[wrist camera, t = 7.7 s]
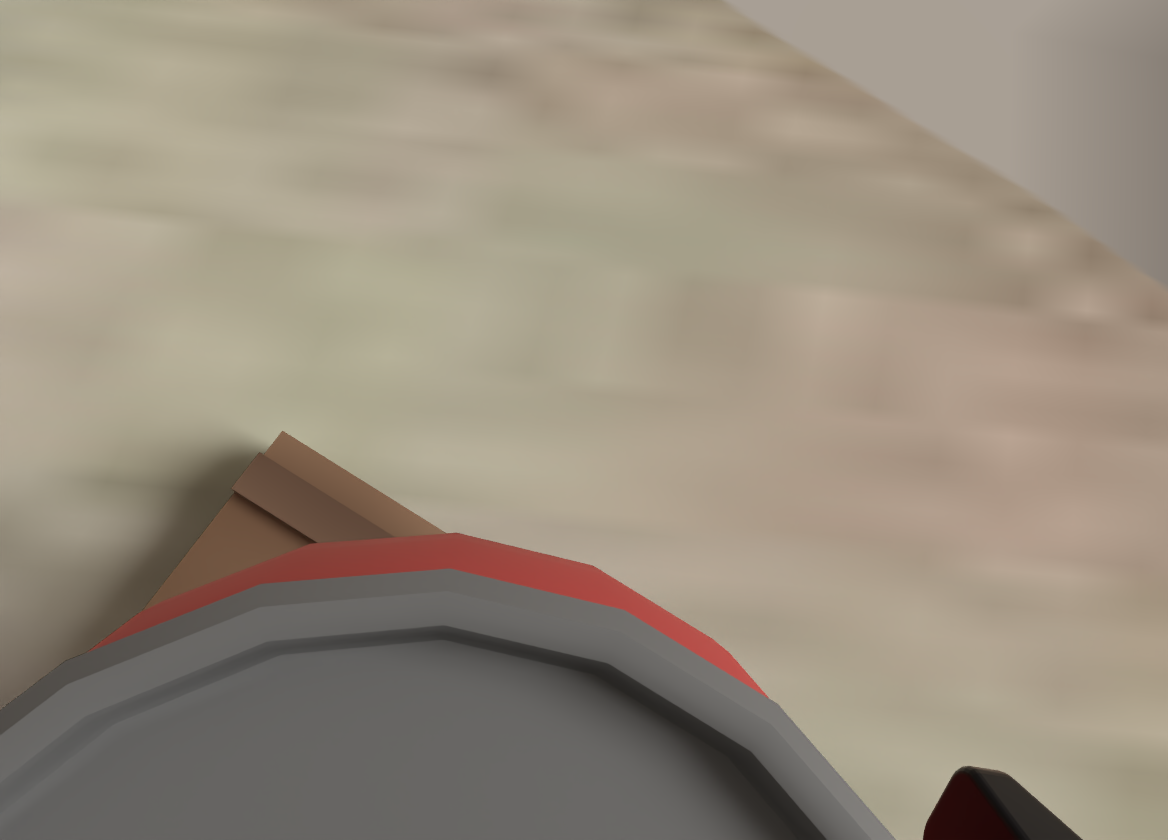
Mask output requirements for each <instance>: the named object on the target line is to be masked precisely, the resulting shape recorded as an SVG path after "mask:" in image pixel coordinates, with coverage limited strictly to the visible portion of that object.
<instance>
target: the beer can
mask: <svg viewBox="0 0 1168 840" xmlns="http://www.w3.org/2000/svg"><path fill="white" fill-rule="evenodd" d="M0 840H896V839H895V838H894V837H893V836H892V835H891V833H890V832H889V831H888V830H887V829H886V828H885V827H884V825H883V824H882V823H881V822H880V821H879V820H878V819H877V817H876V816H875V815H874V814H873V813H872V812H871V811H870V809H869V808H868V807H867V806H866V805H865V804H864V803H863V801H862V800H861V799H860V798H859V797H858V796H857V794H856V793H855V792H854V791H853V790H852V789H851V788H850V786H849V785H848V784H847V783H846V782H845V781H844V780H843V778H842V777H841V776H840V775H839V774H838V773H837V772H836V770H835V769H834V768H833V767H832V766H831V765H830V764H829V762H828V761H827V760H826V759H825V758H824V757H823V756H822V754H821V753H820V752H819V751H818V750H817V749H816V747H815V746H814V745H813V744H812V743H811V742H810V741H809V739H808V738H807V737H806V736H805V735H804V734H803V733H802V731H801V730H800V729H799V728H798V727H797V726H796V725H795V723H794V722H793V721H792V720H791V719H790V718H789V717H788V715H787V714H786V713H785V712H784V711H783V710H782V708H781V707H780V706H779V705H778V704H777V703H775V702H774V701H772V700H770V699H769V698H768V697H767V695H766V694H765V693H764V692H763V691H762V690H761V689H760V687H759V686H758V685H757V684H756V683H755V682H754V680H753V679H752V678H751V677H750V676H749V675H748V674H747V672H746V671H745V670H744V669H743V668H742V667H741V666H740V664H739V663H738V662H737V661H736V660H735V659H734V658H733V656H732V655H731V654H730V653H729V652H728V651H726V650H725V649H724V648H723V647H722V646H720V645H719V644H718V643H717V642H716V641H714V640H713V639H712V638H710V637H708V636H707V635H705V634H703V633H702V632H700V631H699V630H697V629H695V628H694V627H692V626H690V625H689V624H687V623H686V622H684V621H682V620H681V619H679V618H677V617H676V616H674V615H673V614H671V613H669V612H668V611H666V610H664V609H663V608H661V607H660V606H658V605H656V604H655V603H653V602H651V601H650V600H648V599H646V598H645V597H643V596H642V595H640V594H638V593H637V592H635V591H633V590H632V589H630V588H629V587H627V586H625V585H624V584H622V583H620V582H619V581H617V580H616V579H614V578H612V577H611V576H609V575H607V574H606V573H604V572H603V571H601V570H599V569H598V568H596V567H594V566H592V565H588V564H584V563H580V562H576V561H571V560H567V559H563V558H559V557H555V556H551V555H547V554H542V553H538V552H534V551H530V550H526V549H522V548H518V547H513V546H509V545H505V544H501V543H497V542H493V541H489V540H484V539H480V538H476V537H472V536H468V535H464V534H460V533H447V534H434V535H420V536H407V537H393V538H380V539H366V540H353V541H339V542H326V543H313V544H308V545H306V546H303V547H300V548H298V549H295V550H293V551H290V552H288V553H285V554H282V555H280V556H277V557H275V558H272V559H270V560H267V561H264V562H262V563H259V564H257V565H254V566H252V567H249V568H246V569H244V570H241V571H239V572H236V573H234V574H231V575H228V576H226V577H223V578H221V579H218V580H216V581H213V582H210V583H208V584H205V585H203V586H200V587H198V588H195V589H192V590H190V591H187V592H185V593H182V594H179V595H177V596H174V597H172V598H169V599H167V600H164V601H162V602H160V603H158V604H156V605H154V606H152V607H150V608H148V609H146V610H144V611H142V612H140V613H138V614H137V615H135V616H134V617H133V618H131V619H130V620H129V621H127V622H126V623H125V624H123V625H122V626H121V627H119V628H118V629H117V630H116V631H114V632H113V633H112V634H110V635H109V636H108V637H106V638H105V639H104V640H102V641H101V642H100V643H98V644H97V645H96V646H94V647H93V648H92V649H90V650H89V651H88V652H87V653H84V654H82V655H79V656H77V657H74V658H72V659H69V660H67V661H65V662H63V663H62V664H61V665H59V666H58V667H57V668H55V669H54V670H53V671H51V672H50V673H49V674H47V675H46V676H45V677H43V678H42V679H41V680H40V681H38V682H37V683H36V684H34V685H33V686H32V687H30V688H29V689H28V690H26V691H25V692H24V693H22V694H21V695H20V696H18V697H17V698H16V699H14V700H13V701H12V702H10V703H9V704H8V705H6V706H5V707H4V708H2V709H1V710H0Z"/></svg>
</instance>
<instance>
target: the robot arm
mask: <svg viewBox="0 0 1168 840" xmlns="http://www.w3.org/2000/svg"><path fill="white" fill-rule="evenodd" d="M923 840H1082V839H1081V838H1080V837H1079V836H1078V835H1077V834H1076V833H1074V832H1073V831H1072V830H1071V829H1070V828H1069V827H1068V826H1066V825H1065V824H1064V823H1063V822H1062V821H1061V820H1060V819H1059V818H1057V817H1056V816H1055V815H1054V814H1053V813H1052V812H1051V811H1049V810H1048V809H1047V808H1046V807H1045V806H1044V805H1043V804H1042V803H1040V802H1039V801H1038V800H1037V799H1036V798H1035V797H1034V796H1032V795H1031V794H1030V793H1029V792H1028V791H1027V790H1026V789H1025V788H1023V787H1022V786H1021V785H1020V784H1019V783H1018V782H1017V781H1015V780H1014V779H1013V778H1012V777H1011V776H1009V775H1008V774H1006V773H1004V772H1001V771H997V770H991V769H985V768H979V767H973V766H965V767H961V768H960V769H958V770H957V771H956V772H955V773H954V774H953V776H952V777H951V779H950V781H949V783H948V785H947V786H946V788H945V790H944V792H943V794H942V795H941V797H940V799H939V801H938V803H937V804H936V806H935V808H934V810H933V811H932V813H931V815H930V817H929V819H928V821H927V823H926V826H925V830H924V836H923Z"/></svg>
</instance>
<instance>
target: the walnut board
mask: <svg viewBox="0 0 1168 840" xmlns="http://www.w3.org/2000/svg"><path fill="white" fill-rule="evenodd" d="M231 489H232V490H233V491H234V494H233V495H232V496H231V497H230V499H229V500H228V501H227V503H226V504H225V505H224V506H223V508H222V509H221V510H220V512H219V513H218V514H217V515H216V517H215V518H214V519H213V520H212V522H211V523H210V524H209V526H208V527H207V528H206V529H205V531H204V532H203V533H202V535H201V536H200V537H199V538H198V540H197V541H196V542H195V544H194V545H193V546H192V547H191V549H190V550H189V551H188V553H187V554H186V555H185V556H184V558H183V559H182V560H181V562H180V563H179V564H178V565H177V567H176V568H175V569H174V570H173V572H172V573H171V574H170V576H169V577H168V578H167V579H166V581H165V582H164V583H163V585H162V586H161V587H160V588H159V590H158V591H157V592H156V594H155V595H154V596H153V597H152V599H151V600H150V601H149V603H148V604H147V605H146V606H145V608H144V609H143V610H142V611H144V610H146V609H148V608H150V607H152V606H154V605H156V604H158V603H160V602H162V601H164V600H167V599H169V598H172V597H174V596H177V595H179V594H182V593H185V592H187V591H190V590H192V589H195V588H198V587H200V586H203V585H205V584H208V583H210V582H213V581H216V580H218V579H221V578H223V577H226V576H228V575H231V574H234V573H236V572H239V571H241V570H244V569H246V568H249V567H252V566H254V565H257V564H259V563H262V562H264V561H267V560H270V559H272V558H275V557H277V556H280V555H282V554H285V553H288V552H290V551H293V550H295V549H298V548H300V547H303V546H306V545H308V544H313V543H326V542H339V541H353V540H366V539H380V538H393V537H407V536H420V535H434V534H447V533H445V532H443V531H442V530H440V529H439V528H437V527H436V526H434V525H432V524H431V523H429V522H428V521H426V520H424V519H423V518H421V517H420V516H418V515H416V514H415V513H413V512H412V511H410V510H408V509H407V508H405V507H404V506H402V505H400V504H399V503H397V502H396V501H394V500H392V499H391V498H389V497H388V496H386V495H384V494H383V493H381V492H380V491H378V490H376V489H375V488H373V487H372V486H370V485H368V484H367V483H365V482H364V481H362V480H360V479H359V478H357V477H356V476H354V475H352V474H351V473H349V472H348V471H346V470H344V469H343V468H341V467H340V466H338V465H336V464H335V463H333V462H332V461H330V460H328V459H327V458H325V457H324V456H322V455H320V454H319V453H317V452H316V451H314V450H312V449H311V448H309V447H308V446H306V445H304V444H303V443H301V442H300V441H298V440H296V439H295V438H293V437H292V436H290V435H288V434H287V433H285V432H284V431H282V432H281V433H280V435H279V436H278V437H277V438H276V440H275V441H274V442H273V444H272V445H271V446H270V447H269V449H268V450H267V451H266V453H265V454H264V455H263V454H262V453H260V452H259V453H258V455H257V456H256V457H255V458H254V460H253V461H252V462H251V464H250V465H249V466H248V467H247V469H246V470H245V471H244V473H243V474H242V475H241V476H240V478H239V479H238V480H237V481H236V483H235V484H234V485H233V487H232V488H231Z"/></svg>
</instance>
